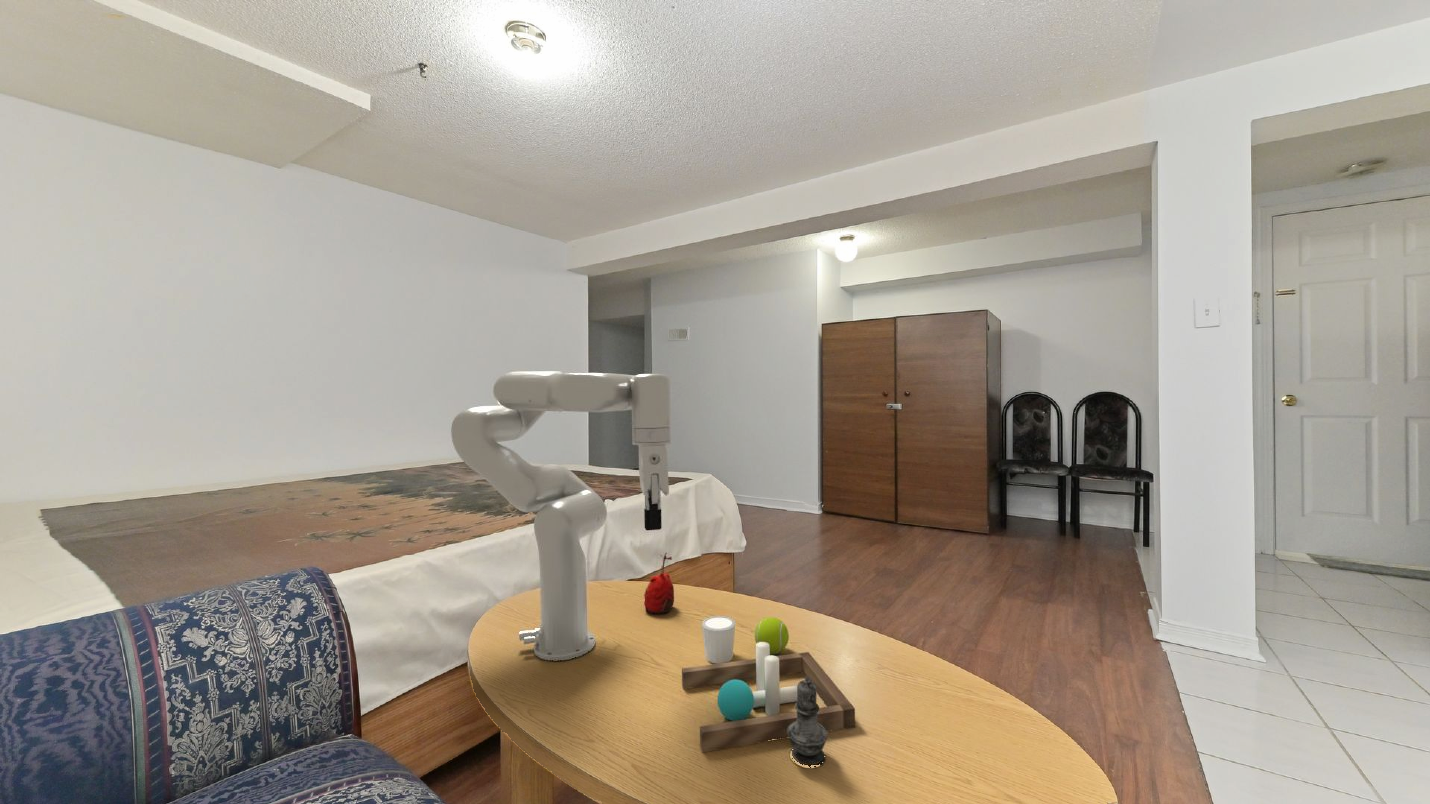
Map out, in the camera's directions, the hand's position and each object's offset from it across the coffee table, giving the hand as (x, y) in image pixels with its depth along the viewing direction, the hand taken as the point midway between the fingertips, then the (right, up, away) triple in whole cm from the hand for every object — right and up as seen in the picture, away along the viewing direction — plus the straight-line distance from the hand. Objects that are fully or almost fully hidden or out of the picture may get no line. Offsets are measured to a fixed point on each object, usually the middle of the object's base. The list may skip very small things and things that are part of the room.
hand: (653, 528), depth 105 cm
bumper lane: (+20, -27, -13) cm, 36 cm away
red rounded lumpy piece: (-1, -27, +27) cm, 38 cm away
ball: (+16, -24, -17) cm, 34 cm away
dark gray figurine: (+26, -27, -27) cm, 46 cm away
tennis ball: (+24, -27, +5) cm, 36 cm away
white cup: (+13, -27, +3) cm, 30 cm away
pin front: (+18, -26, -14) cm, 35 cm away
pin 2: (+22, -27, -16) cm, 38 cm away
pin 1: (+21, -27, -11) cm, 36 cm away
